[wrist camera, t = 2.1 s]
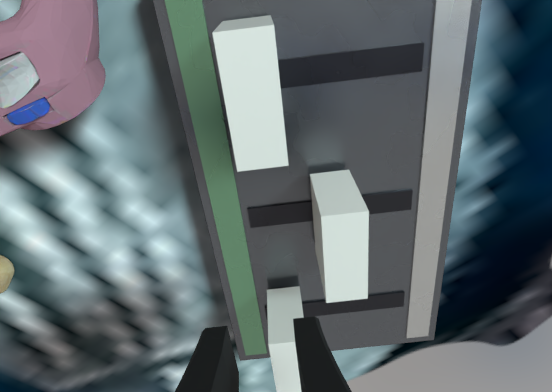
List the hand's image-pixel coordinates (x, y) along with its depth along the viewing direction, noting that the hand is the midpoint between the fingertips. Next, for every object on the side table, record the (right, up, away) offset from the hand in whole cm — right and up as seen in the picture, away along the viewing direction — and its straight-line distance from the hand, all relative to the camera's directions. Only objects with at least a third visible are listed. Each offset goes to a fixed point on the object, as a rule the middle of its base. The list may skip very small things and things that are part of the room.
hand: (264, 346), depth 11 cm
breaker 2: (+1, -2, +9) cm, 9 cm away
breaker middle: (+3, +4, +6) cm, 7 cm away
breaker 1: (0, +8, +3) cm, 9 cm away
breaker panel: (+3, +5, +7) cm, 9 cm away
